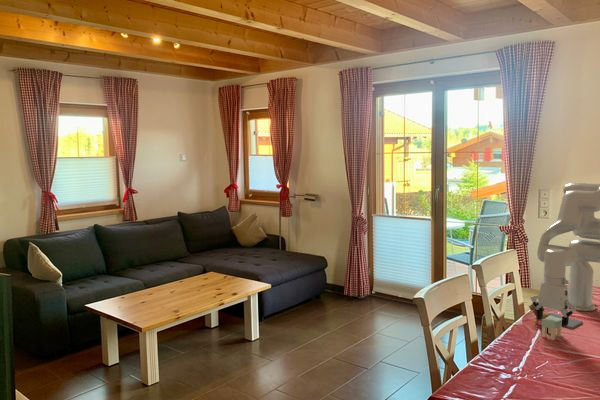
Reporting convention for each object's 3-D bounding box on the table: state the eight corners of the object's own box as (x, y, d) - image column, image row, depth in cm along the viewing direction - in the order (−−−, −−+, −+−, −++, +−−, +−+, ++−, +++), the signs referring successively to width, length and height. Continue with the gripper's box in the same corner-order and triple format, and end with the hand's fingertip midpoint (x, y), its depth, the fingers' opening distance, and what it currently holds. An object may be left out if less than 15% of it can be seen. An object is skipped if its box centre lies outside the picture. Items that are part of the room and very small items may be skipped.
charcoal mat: (549, 314, 215) (549, 312, 215) (582, 323, 204) (583, 321, 204) (538, 319, 209) (538, 317, 209) (571, 329, 198) (572, 327, 198)
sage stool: (549, 332, 195) (550, 315, 195) (562, 335, 192) (563, 319, 191) (541, 336, 191) (541, 319, 190) (553, 340, 187) (554, 323, 186)
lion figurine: (526, 320, 208) (527, 300, 207) (537, 319, 209) (538, 299, 208) (548, 333, 194) (549, 312, 193) (560, 332, 195) (561, 311, 194)
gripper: (581, 283, 184) (579, 326, 186) (537, 274, 198) (535, 314, 200) (572, 287, 180) (570, 331, 182) (527, 277, 194) (525, 318, 196)
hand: (551, 322), depth 191 cm, fingers open, 9 cm apart
